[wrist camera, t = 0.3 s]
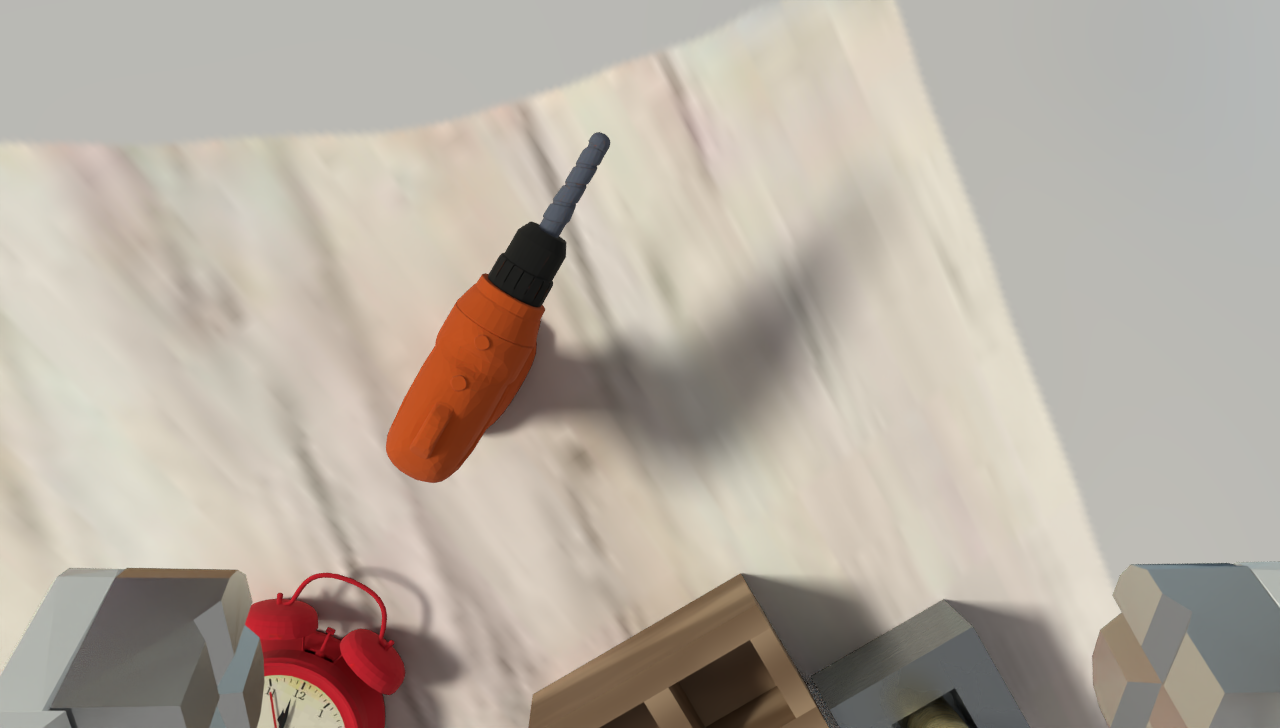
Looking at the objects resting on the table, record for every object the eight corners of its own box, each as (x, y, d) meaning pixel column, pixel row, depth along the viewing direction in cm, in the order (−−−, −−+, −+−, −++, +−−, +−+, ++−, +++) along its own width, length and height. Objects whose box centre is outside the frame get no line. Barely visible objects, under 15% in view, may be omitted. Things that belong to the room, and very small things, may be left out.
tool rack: (808, 687, 66) (830, 729, 60) (602, 807, 66) (603, 861, 60) (741, 573, 65) (756, 604, 59) (532, 694, 65) (527, 737, 59)
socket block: (1015, 726, 66) (1050, 763, 61) (884, 802, 66) (908, 845, 61) (943, 599, 65) (972, 626, 60) (811, 676, 65) (829, 709, 61)
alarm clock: (142, 807, 61) (228, 584, 57) (192, 737, 67) (273, 531, 63) (319, 879, 62) (418, 665, 57) (353, 804, 68) (444, 605, 63)
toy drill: (653, 159, 61) (651, 164, 46) (486, 444, 64) (435, 533, 50) (576, 112, 61) (550, 102, 46) (412, 402, 64) (338, 479, 49)
